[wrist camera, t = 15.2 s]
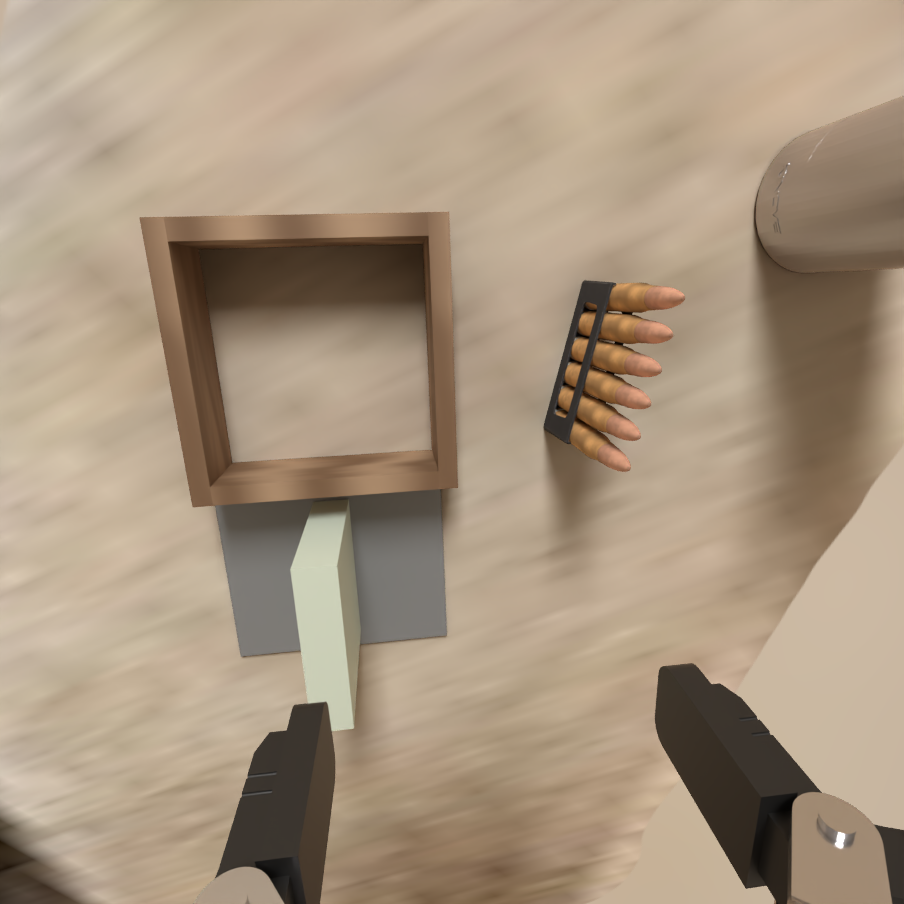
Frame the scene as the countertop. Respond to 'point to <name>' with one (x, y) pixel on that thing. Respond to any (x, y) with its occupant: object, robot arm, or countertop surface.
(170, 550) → the countertop surface
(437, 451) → the walnut box
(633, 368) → the ammunition clip
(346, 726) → the pale green rectangular block
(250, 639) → the rubber mat
